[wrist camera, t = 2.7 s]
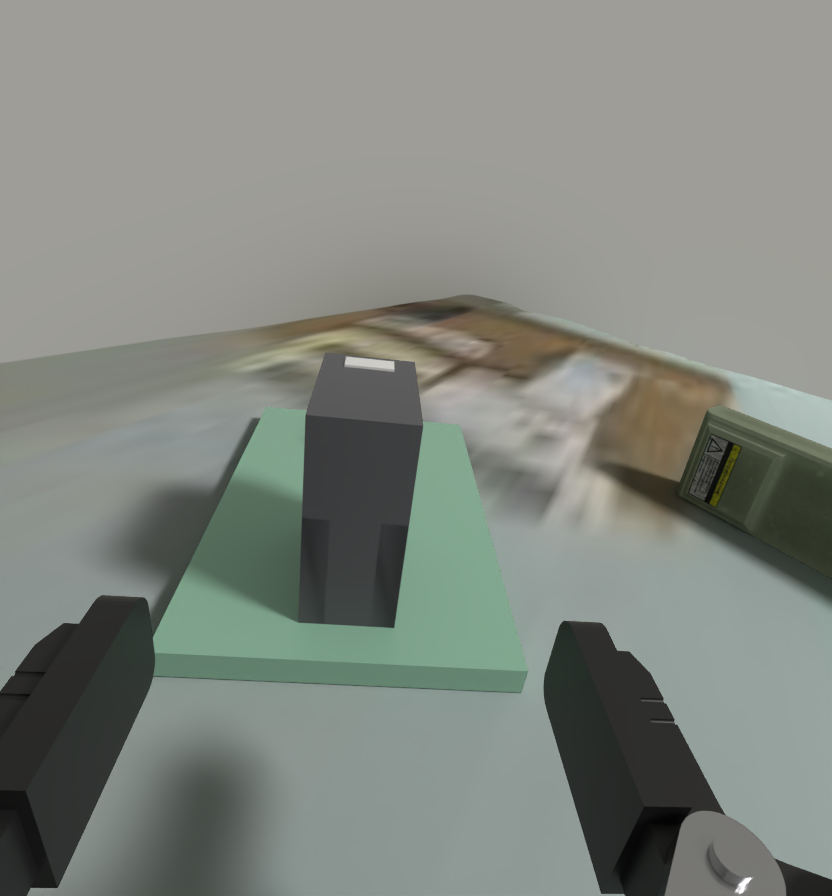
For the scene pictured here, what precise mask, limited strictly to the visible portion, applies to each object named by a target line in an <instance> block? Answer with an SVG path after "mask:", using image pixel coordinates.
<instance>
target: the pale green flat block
mask: <svg viewBox="0 0 832 896" xmlns="http://www.w3.org/2000/svg"><path fill="white" fill-rule="evenodd" d="M306 412H307V411H305V410H294V409H283V408H273V407H266V408H265V410H264V413H263V415H262V417H261V419H260V421H259V423H258V425H257V427H256V429H255V431H254V433H253V435H252V437H251V439H250V441H249V443H248V445H247V447H246V449H245V451H244V453H243V455H242V457H241V459H240V461H239V463H238V465H237V467H236V469H235V472H234V474H233V476H232V478H231V480H230V482H229V484H228V486H227V488H226V490H225V492H224V494H223V496H222V498H221V500H220V502H219V504H218V506H217V508H216V510H215V512H214V514H213V516H212V518H211V520H210V522H209V524H208V526H207V528H206V531H205V533H204V535H203V537H202V539H201V541H200V543H199V545H198V547H197V549H196V551H195V553H194V555H193V557H192V559H191V561H190V563H189V565H188V567H187V569H186V571H185V573H184V575H183V577H182V579H181V581H180V583H179V585H178V587H177V589H176V592H175V594H174V596H173V598H172V600H171V602H170V604H169V606H168V608H167V610H166V612H165V614H164V616H163V618H162V620H161V622H160V624H159V626H158V628H157V630H156V632H155V634H154V636H153V643H154V651H155V668H154V674H153V676H165V677H187V678H209V679H231V680H253V681H275V682H297V683H319V684H341V685H363V686H385V687H407V688H429V689H451V690H473V691H495V692H517V693H521V692H522V689H523V686H524V683H525V679H526V676H527V673H528V669H527V666H526V662H525V658H524V655H523V651H522V648H521V644H520V640H519V637H518V633H517V630H516V626H515V622H514V619H513V615H512V611H511V608H510V604H509V601H508V597H507V593H506V590H505V586H504V583H503V579H502V575H501V572H500V568H499V564H498V561H497V557H496V554H495V550H494V546H493V543H492V539H491V535H490V532H489V528H488V525H487V521H486V517H485V514H484V510H483V507H482V503H481V499H480V496H479V492H478V488H477V485H476V481H475V478H474V474H473V470H472V467H471V463H470V460H469V456H468V452H467V449H466V445H465V441H464V438H463V434H462V431H461V427H460V425H454V424H443V423H433V422H423V432H422V439H421V446H420V453H419V460H418V467H417V473H416V480H415V487H414V494H413V501H412V508H411V515H410V522H409V529H408V536H407V543H406V550H405V557H404V564H403V571H402V578H401V585H400V591H399V598H398V605H397V612H396V619H395V626H394V628H384V627H366V626H348V625H330V624H313V623H298V614H299V586H300V557H301V529H302V500H303V472H304V443H305V415H306Z"/></svg>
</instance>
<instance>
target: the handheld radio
mask: <svg viewBox="0 0 832 896" xmlns="http://www.w3.org/2000/svg"><path fill="white" fill-rule="evenodd" d="M676 492H677V494H678V495H679V496H681V497H683V498H684V499H686V500H688V501H690V502H692V503H694V504H695V505H697V506H699V507H701V508H703V509H705V510H706V511H708V512H710V513H712V514H714V515H716V516H717V517H719V518H721V519H723V520H725V521H727V522H728V523H730V524H732V525H734V526H736V527H738V528H739V529H741V530H743V531H745V532H747V533H749V534H750V535H752V536H754V537H756V538H758V539H760V540H761V541H763V542H765V543H767V544H769V545H771V546H772V547H774V548H776V549H778V550H780V551H782V552H783V553H785V554H787V555H789V556H791V557H793V558H794V559H796V560H798V561H800V562H802V563H804V564H805V565H807V566H809V567H811V568H813V569H815V570H816V571H818V572H820V573H822V574H824V575H826V576H827V577H829V578H831V579H832V449H831V448H829V447H826V446H824V445H821V444H819V443H816V442H814V441H811V440H808V439H806V438H803V437H801V436H798V435H796V434H793V433H791V432H788V431H786V430H783V429H781V428H778V427H775V426H773V425H770V424H768V423H765V422H763V421H760V420H758V419H755V418H753V417H750V416H748V415H745V414H742V413H740V412H737V411H735V410H732V409H730V408H727V407H725V406H722V405H718V406H715V407H713V408H710V409H708V410H707V412H706V415H705V417H704V420H703V423H702V425H701V428H700V430H699V433H698V436H697V438H696V441H695V444H694V446H693V449H692V452H691V454H690V457H689V460H688V462H687V465H686V468H685V470H684V473H683V476H682V478H681V481H680V483H679V486H678V489H677V491H676Z"/></svg>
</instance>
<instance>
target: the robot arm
mask: <svg viewBox="0 0 832 896" xmlns="http://www.w3.org/2000/svg"><path fill="white" fill-rule="evenodd" d="M154 668H155V651H154V643H153V636H152V629H151V621H150V614H149V606H148V602H147V600H146V599H145V598H143V597H124V596H105V595H102V596H100V597H98V598H97V599H96V600H95V601H94V603H93V604H92V606H91V607H90V609H89V610H88V612H87V613H86V614H85V616H84V617H83V619H82V620H81V622H80V623H79V624H71V623H63V624H62V625H61V626H59V627H58V628H57V629H55V630H54V631H53V632H51V633H50V634H49V635H47V636H46V637H45V638H43V639H42V640H41V641H39V642H38V643H37V644H35V645H34V647H33V648H32V649H31V651H30V652H29V654H28V655H27V656H26V658H25V659H24V660H23V662H22V663H21V664H20V666H19V667H18V668H17V670H16V671H15V675H14V676H11V678H10V679H9V680H8V682H7V683H6V684H5V686H4V687H3V688H2V690H1V691H0V896H27V894H28V892H29V890H30V888H58V886H59V884H60V882H61V880H62V878H63V875H64V873H65V871H66V869H67V867H68V865H69V862H70V860H71V858H72V856H73V854H74V851H75V849H76V847H77V845H78V843H79V841H80V838H81V836H82V834H83V832H84V830H85V828H86V825H87V823H88V821H89V819H90V817H91V815H92V812H93V810H94V808H95V806H96V804H97V802H98V799H99V797H100V795H101V793H102V791H103V789H104V786H105V784H106V782H107V780H108V778H109V776H110V773H111V771H112V769H113V767H114V765H115V763H116V760H117V758H118V756H119V754H120V752H121V750H122V747H123V745H124V743H125V741H126V739H127V736H128V734H129V732H130V730H131V728H132V726H133V723H134V721H135V719H136V717H137V715H138V713H139V710H140V708H141V706H142V704H143V702H144V700H145V697H146V695H147V693H148V691H149V688H150V685H151V682H152V678H153V674H154ZM544 699H545V705H546V709H547V712H548V716H549V719H550V722H551V726H552V729H553V733H554V736H555V739H556V743H557V746H558V749H559V753H560V756H561V760H562V763H563V766H564V770H565V773H566V776H567V780H568V783H569V786H570V790H571V793H572V797H573V800H574V803H575V807H576V810H577V813H578V817H579V820H580V824H581V827H582V830H583V834H584V837H585V840H586V844H587V847H588V850H589V854H590V857H591V861H592V864H593V867H594V871H595V874H596V877H597V881H598V884H599V888H600V891H601V894H625V896H832V880H831V879H828V878H825V877H822V876H820V875H817V874H814V873H811V872H808V871H806V870H803V869H800V868H797V867H795V866H792V865H789V864H786V863H784V862H782V861H779V860H777V859H775V858H774V857H773V856H772V854H771V853H770V851H769V850H768V849H767V847H766V846H765V845H764V844H763V843H762V841H761V840H760V839H759V838H758V837H757V836H756V835H755V834H754V833H752V832H751V831H750V830H749V829H747V828H746V827H745V826H743V825H742V824H740V823H739V822H738V821H736V820H734V819H732V818H730V817H728V816H726V815H725V814H724V812H723V810H722V808H721V807H720V805H719V803H718V801H717V799H716V798H715V796H714V794H713V792H712V790H711V788H710V786H709V784H708V782H707V780H706V779H705V777H704V775H703V773H702V771H701V769H700V767H699V765H698V763H697V761H696V759H695V758H694V756H693V754H692V752H691V750H690V748H689V746H688V744H687V742H686V740H685V739H684V737H683V735H682V733H681V731H680V729H679V727H678V725H675V723H674V718H673V716H672V714H671V712H670V710H669V708H668V706H667V704H665V703H664V702H663V697H662V695H661V693H660V691H659V689H658V687H657V685H656V683H655V681H654V679H653V678H652V676H651V674H650V673H649V672H648V671H647V670H646V669H645V667H644V666H643V665H642V664H641V663H640V662H639V661H638V660H637V659H636V658H635V657H634V656H633V655H632V654H631V653H630V652H628V651H617V650H616V648H615V645H614V643H613V641H612V639H611V637H610V635H609V633H608V631H607V629H606V627H605V626H604V625H603V624H602V623H595V622H576V621H563V622H562V623H561V625H560V627H559V629H558V633H557V636H556V639H555V643H554V646H553V649H552V652H551V656H550V659H549V662H548V666H547V669H546V672H545V677H544Z"/></svg>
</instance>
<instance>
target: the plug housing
mask: <svg viewBox="0 0 832 896" xmlns="http://www.w3.org/2000/svg"><path fill="white" fill-rule="evenodd" d="M422 432H423V419H422V412H421V405H420V398H419V390H418V383H417V376H416V369H415V362H409V361H399V360H390V359H380V358H370V357H361V356H351V355H342V354H332V353H325V356H324V359H323V362H322V365H321V368H320V371H319V374H318V377H317V381H316V384H315V387H314V390H313V393H312V396H311V399H310V402H309V405H308V409H307V412H306V415H305V443H304V472H303V500H302V529H301V557H300V586H299V614H298V623H313V624H330V625H348V626H366V627H384V628H394V626H395V619H396V612H397V605H398V598H399V591H400V585H401V578H402V571H403V564H404V557H405V550H406V543H407V536H408V529H409V522H410V515H411V508H412V501H413V494H414V487H415V480H416V473H417V467H418V460H419V453H420V446H421V439H422Z"/></svg>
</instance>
